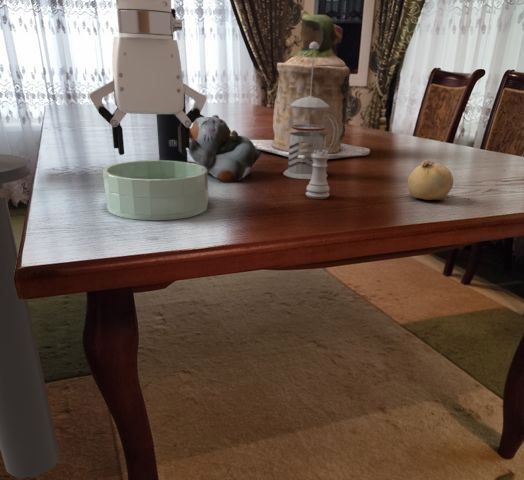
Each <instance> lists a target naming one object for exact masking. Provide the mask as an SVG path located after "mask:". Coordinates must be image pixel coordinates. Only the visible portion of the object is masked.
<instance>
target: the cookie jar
mask: <svg viewBox="0 0 524 480" xmlns="http://www.w3.org/2000/svg"><path fill="white" fill-rule="evenodd" d="M300 18H301V21H302V22H301V23H300V26H301V30H300V31H299V36H300V39H301V43H302V48H301V49H299V50H298V52H297V53H295V55H293V56H292V57H290V58H288V60H286V61H285V62H277V63H276V70H277V72H278V74H279V76H278V83H277V90H276V97H275V99H274V108H273V116H272V117H273V120H272V121H273V122H272V129H273V133H274V138H273V139H249V140H250V141H251V142H252V143H253V145H254V146H255V148H256V150H259V151H262V152H267V153H272V154H275V155H278V156H279V155H280V156H282V157H286V158H289V142H290V133H292V132H316V133H322V134H326V147H325V151H326V150H327V149H328V148H329V147H330V145H331V143H332V141H333V135H334V129H333V125H332V122H333V124H334V127H335V137H334V141H333V144H332V146H331V148H332V147H333V146H334V144H335V142H336V139H337V132H338V129H337V125H336V122H335V121H334V119H333V118H332V117H331V116H330V115H332V116H333V117H334V118H335V120H336V121H337V124H338V127H339V135H338V140H337V143H336V145H335V147H334V148H333V149H332V150H330V151H328V155H329V159H328V160H334V159H342V158H343V159H346V158H353V157H354V158H355V157H364V156H365V157H366V156H368V155H369V154H370V153H371V149H370V148H367V147H364V146H357V145H351V144H348V143H347V144H346V143H342V140H343V139H344V137H345V136H346V126H345V123H346V121H347V106H348V104H349V103H350V95H351V86H350V78H351V77H350V76H351V70H350V68H349V67H348V66H347V64H346V63H345V61H344V60H343V59H341V58H340V57H338V56H337V49H336V48H335V46H337V45H338V44H340V43H342V40H343V39H342V38H343V31H344V30H343V28H342V27H341V26H339V25H337V24H335V23H334V19H333V18H332V17H329V16H328V15H327V14H310V13H309V12H308V11H306V10H301V13H300ZM312 42H317V43H318V45H319V49H314V61H313V48H309V46H310V44H311V43H312ZM312 61H313V76H312V90H311V75H312ZM310 90H311V96H313V97H315V98H319V99H321V100H323V101H324V102H325V103H327V104H328V105H329V106H330V107H329V108H328V109H324V110H310V120H309V124H310V125H311V124H312V125H319V126H320V125H322V126H325V130H322V131H301V130H295V129H293V128H292V125H296V124H306V125H308V119H309V110H308V109H296V108H291V104H292V103H293V102H295V101H296V100H298V99H300V98H305V97H308V96H310ZM328 114H330V115H329V116H328V117H329V118H330V119H331V120H332V122H331V121H330V119H329V118H328V121H327V122H324V121H326V120H327V117H326V116H324V115H328ZM323 116H324V121H323ZM322 143H324V140H323V142H322ZM299 145H304V146H307V145H310V144H309V143H300V142H299ZM310 148H313V147H310ZM331 148H330V149H331ZM322 149H323V150H324V147H323V146H322ZM298 151H299V152H307V151H309V150H306V149H298ZM310 154H311V155H312V153H310ZM306 157H307V156H303V155H299V156H298V158H306ZM310 161H312V159H310Z"/></svg>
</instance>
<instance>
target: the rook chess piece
mask: <svg viewBox="0 0 524 480" xmlns="http://www.w3.org/2000/svg"><path fill="white" fill-rule="evenodd" d="M316 151H317V152H316ZM311 157H312V158H313V160H314V163H313V164H312V166H313V172H312V177H311V179H310V181H309V182H308V184H307V185H306V189H305V190H306V192H305V195H306V197H307V198H309V199H314V200H324V199H328V198H329V196H330V193H329V191H330V186H329V184H328V179H327V177H326V174H327V167H328V166H329V165H328V164H327V163H328V161H329V160H330V159H329V155H328V151H326V152H325V150H322V152H320V150H314V153H313V155H312V156H311Z"/></svg>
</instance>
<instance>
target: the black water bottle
mask: <svg viewBox="0 0 524 480" xmlns="http://www.w3.org/2000/svg"><path fill="white" fill-rule="evenodd" d="M171 14H172V16H173V17H174V18H175V19H176V20H177V14H176V9H175V8H171ZM171 36H172V40H175V39H174V34H173V35H171ZM186 108H187V107H186V94H184V108H183V112H184V113H185V114H187V109H186ZM155 115H156V128H157V145H158V147H157V148H158V160H168V161H181V162H189V161H188V151H187V150H186V154H181V153H180V151H179V144H178V126H179V125H180V121H179V119H178V118H177V117H176V116H175V114H155Z"/></svg>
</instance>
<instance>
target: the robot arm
mask: <svg viewBox="0 0 524 480" xmlns="http://www.w3.org/2000/svg"><path fill="white" fill-rule="evenodd" d="M115 1H116V13H117V14H116V15H117V16H116V17H117V27H118V36H113V39H112V40H113V41H112V53H111V55H112V60H111V61H112V66H111V67H112V80H110V81H109V82H108V83H106V84H103V85H102V86H100V87H98V88H97V89H95V90H93V91H91V92H90V93H89V99H90V100H91V102H92V104H93V106H95V109H96V110H97V112H98V114H99V116H101V117H102V118H103V119H104V120H105V121H106V123H108V124H109V125H110V126H111V134H112V145H113V149H117V150H118V154H119V156H124V155H125V146H124V144H125V143H124V132H123V127H122V125H121V122H122V120H123V119H124V118H125V117H126V115H127V114H131V115H132V114H134V115H156V114H175V116H176V117H177V118H178V119H179V121H180V125H179V126H178V144H179V151H180V153H181V154H186V148H189V147H190V140H189V127H190V128H192V126H193V122H194V121H195V120H196V119H197V118H198V117H199V115H200V114H201V112H202V110H203V108H204V106H205V104H206V101H207V97H206V95H203V94H202V93H200V92H199V91H197V90H195V89H193V88H192V87H191V86H189V85H187V84H185V83H184V81H183V72H182V61H181V55H180V50H179V44H178V41H177V40H176V39H173V40H172V36H171V35H173V36H174V33H175V32H178V31H181V32H182V31H183V22H182V19H177V18H176V19H175V18H174V17H173V16H172V14H171V9H172V0H115ZM112 93H113V98H114V105H115V106H116V108H115V109H114V111H113V112H111V111H110V110H108V109H107V108H106V106H105V105H104V103H103V98H105V97H106V96H109V95H111V94H112ZM184 94H185V96H187V97H188V98H191V99H192V100H193V101H194V103H193V106H192V108H191V109H190V110H189V111H188V112H186V114H185V113H184V112H183V108H184Z"/></svg>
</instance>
